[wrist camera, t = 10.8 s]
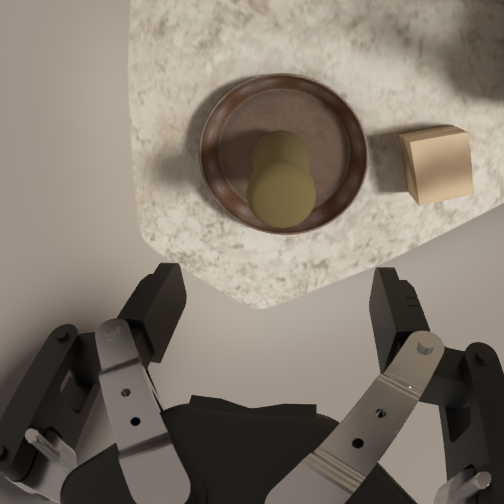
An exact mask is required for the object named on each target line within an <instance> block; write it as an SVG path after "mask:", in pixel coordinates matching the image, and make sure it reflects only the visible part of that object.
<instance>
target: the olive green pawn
mask: <svg viewBox="0 0 504 504" xmlns="http://www.w3.org/2000/svg"><path fill="white" fill-rule="evenodd" d="M310 165H311V153H310V149H309V147H308V145H307V144H306V142H305V140H303V139H302V138H301V137H300V136H299V135H297V134H295V133H293V132H290V131H285V130H277V131H272V132H269V133H267V134H265V135H264V136H262V137H261V138H260V139H259V140H258V141H257V143H256V144H255V146H254V149H253V151H252V166H253V174H252V175H251V177H250V180H249V182H248V185H247V188H246V199H247V202H248V205H249V208H250V210H251V212H252V213H253V215H254V216H255V217H256V218H257V219H258V220H259V221H261V222H262V223H263V224H266V225H268V226H271V227H276V228H287V227H292V226H295V225H297V224H299V223H301V222H302V221H304V220H305V219H306V218H307V217H308V216H309V215H310V213H311V211H312V209H313V207H314V204H315V199H316V190H315V185H314V181H313V179H312V178H311V176H310V174H309V171H310Z"/></svg>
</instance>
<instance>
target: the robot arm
mask: <svg viewBox="0 0 504 504" xmlns="http://www.w3.org/2000/svg"><path fill="white" fill-rule="evenodd" d="M186 297H187V296H186V290H185V285H184V282H183V277H182V273H181V268H180V265H179V264H178V263H160V264H159V266H158V267H157V269H156V270H155V272H154V274H149V275H147V276H146V277H145V278H144V279H142V280H141V281H140V283H139V284H138V286H137V287H136V289H135V291H134V292H133V294H132V295H131V297H130V298H129V299H128V301H127V303H126V304H125V306H124V307H123V309H122V310H121V312H120V314H119V315H118V317H117V318H116V319H110V320H107V321H105V322H104V323H102V324H101V325H100V326H99V327H98V328H97V330H96V332H92V333H84V334H80V333H79V332H78V330H77V328H76V327H75V326H74V325H71V324H65V325H62V326H59V327H57V328H56V329H55V330H54V331H53V332H52V333H51V334H50V335H49V337H48V339H47V340H46V342H45V343H44V345H43V346H42V348H41V350H40V351H39V353H38V354H37V356H36V358H35V359H34V361H33V363H32V364H31V366H30V367H29V369H28V371H27V373H26V374H25V376H24V378H23V379H22V381H21V383H20V385H19V386H18V388H17V390H16V392H15V393H14V395H13V397H12V399H11V401H10V403H9V405H8V406H7V408H6V410H5V412H4V414H3V416H2V418H1V420H0V474H2V475H3V476H5V477H6V478H7V479H8V480H9V481H11V482H12V483H14V484H15V485H17V486H18V487H20V488H22V489H23V490H25V491H27V492H29V493H32V494H33V495H35V496H37V497H38V498H40V499H42V500H53V501H55V502H57V503H59V504H417V503H416V502H415V501H414V500H413V499H412V498H411V497H410V495H409V494H408V493H407V492H406V491H405V490H404V489H403V488H402V487H401V486H400V485H399V484H398V483H397V482H396V481H395V480H394V479H393V478H392V477H391V476H390V475H389V474H388V472H386V470H385V469H383V467H382V466H381V465H380V464H379V463H378V461H379V460H380V458H381V457H382V456H383V454H384V453H385V452H386V450H387V449H388V447H389V446H390V444H391V443H392V441H393V440H394V439H395V437H396V436H397V434H398V432H399V431H400V430H401V428H402V427H403V425H404V423H405V422H406V420H407V419H408V417H409V415H410V414H411V412H412V410H413V409H414V407H415V406H416V404H417V402H418V401H420V402H424V403H429V404H435V405H438V406H439V412H440V418H441V425H442V433H443V441H444V450H445V460H446V471H447V482H446V483H445V484H444V485H442V486H441V487H440V488H439V490H438V491H437V493H436V496H435V500H434V504H504V373H503V370H502V367H501V364H500V361H499V359H498V356H497V354H496V352H495V351H494V349H493V348H491V347H490V346H489V345H487V344H485V343H480V342H476V343H472V344H470V345H469V346H468V347H467V349H466V350H465V351H460V350H455V349H451V348H447V347H445V346H444V344H443V342H442V340H441V339H440V338H439V337H438V336H437V335H436V334H434V333H431V332H430V329H429V326H428V323H427V321H426V318H425V315H424V312H423V310H422V307H421V306H420V305H421V304H420V302H419V300H418V298H417V294H416V292H415V289H414V287H412V285H411V284H410V283H409V282H408V281H407V280H399V278H398V275H397V272H396V270H395V268H389V267H387V268H386V267H383V268H382V267H381V268H380V267H377V268H376V269H375V273H374V278H373V284H372V290H371V295H370V301H369V310H370V316H371V321H372V326H373V331H374V337H375V343H376V348H377V354H378V360H379V366H380V374H379V375H378V376H377V378H376V379H375V380H374V382H373V383H372V384H371V386H370V387H369V388H368V390H367V391H366V392H365V393H364V395H363V396H362V397H361V399H360V400H359V401H358V402H357V403H356V405H355V406H354V407H353V409H351V411H350V412H349V413H348V414H347V415H346V417H345V418H344V419H343V420H342V421H341V423H339V422H338V421H336V420H334V419H332V418H330V417H328V416H325V415H321V414H318V413H316V404H280V405H274V406H267V407H260V408H247V407H244V406H241V405H238V404H235V403H232V402H229V401H226V400H223V399H220V398H211V397H202V396H195V395H192V396H191V399H190V402H189V403H188V404H181V405H177V406H174V407H171V408H168V409H166V410H165V408H164V406H163V403H162V401H161V399H160V396H159V394H158V392H157V389H156V387H155V384H154V382H153V379H152V377H151V374H150V372H149V370H148V366H149V363H150V362H155V363H161V360H162V358H163V356H164V353H165V351H166V349H167V346H168V344H169V342H170V340H171V337H172V335H173V333H174V330H175V328H176V326H177V323H178V321H179V319H180V317H181V314H182V312H183V310H184V308H185V305H186ZM67 372H68V373H69V375H70V377H69V379H68V381H67V383H66V385H65V387H64V389H63V391H62V393H61V392H60V387H61V384H62V382H63V380H64V378H65V376H66V374H67ZM100 387H101V389H102V393H103V397H104V401H105V405H106V408H107V412H108V416H109V420H110V423H111V427H112V430H113V434H114V437H115V440H116V443H114V444H113V445H111V446H110V447H108V448H107V449H105V450H103V451H102V452H100V453H99V454H97V455H96V456H94V457H92V458H91V459H89V460H87V461H86V462H84V463H83V464H81V465H79V466H77V465H76V462H77V459H76V454H75V452H74V450H75V447H76V444H77V442H78V439H79V437H80V434H81V432H82V429H83V427H84V424H85V422H86V420H87V417H88V415H89V412H90V410H91V408H92V405H93V403H94V400H95V398H96V396H97V394H98V392H99V389H100Z"/></svg>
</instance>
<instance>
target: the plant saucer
mask: <svg viewBox="0 0 504 504" xmlns="http://www.w3.org/2000/svg"><path fill="white" fill-rule="evenodd" d="M277 130H285V131H290V132H293V133H295V134H297V135H299V136H300V137H301V138H302V139H303V140H305V142H306V144H307V145H308V147H309V149H310V153H311V165H310V171H309V174H310V176H311V178H312V179H313V181H314V185H315V190H316V199H315V204H314V207H313V209H312V211H311V213H310V215H309V216H308V217H307V218H306V219H305V220H304V221H302V222H301V223H299V224H297V225H295V226H292V227H287V228H276V227H271V226H268V225H266V224H263V223H262V222H261V221H259V220H258V219H257V218H256V217H255V216H254V215H253V213H252V212H251V210H250V208H249V205H248V202H247V199H246V188H247V185H248V182H249V180H250V177H251V175H252V174H253V166H252V151H253V149H254V146H255V144H256V143H257V141H258V140H259V139H260V138H261V137H262V136H264V135H265V134H267V133H269V132H272V131H277ZM199 161H200V168H201V172H202V176H203V178H204V181H205V183H206V186H207V188H208V190H209V192H210V193H211V195H212V196H213V198H214V199H215V201H216V202H217V203H218V204H219V205H220V206H221V208H222V209H223V210H224V211H226V212H227V213H228V214H229V215H230V216H232V217H233V218H234V219H236V220H237V221H239V222H241V223H242V224H244V225H246V226H248V227H250V228H253V229H256V230H259V231H262V232H266V233H271V234H279V235H293V234H300V233H305V232H310V231H313V230H316V229H319V228H321V227H323V226H325V225H327V224H329V223H331V222H332V221H334V220H335V219H337V218H338V217H339V216H340V215H342V214H343V213H344V212H345V211H346V210H347V209H348V208H349V207H350V205H351V204H352V203H353V202H354V200H355V199H356V197H357V195H358V194H359V192H360V190H361V188H362V186H363V183H364V180H365V177H366V173H367V168H368V145H367V139H366V135H365V132H364V129H363V127H362V124H361V122H360V120H359V118H358V117H357V115H356V113H355V112H354V110H353V109H352V107H351V106H350V105H349V104H348V103H347V102H346V100H345V99H344V98H343V97H341V96H340V95H339V94H338V93H337V92H335V91H334V90H332V89H331V88H330V87H328V86H326V85H325V84H323V83H321V82H319V81H317V80H314V79H311V78H309V77H305V76H301V75H296V74H288V73H277V74H268V75H262V76H259V77H255V78H252V79H250V80H247V81H245V82H243V83H241V84H239V85H237V86H236V87H234V88H233V89H231V90H230V91H229V92H228V93H226V94H225V95H224V96H223V97H222V98H221V99H220V100H219V101H218V102H217V104H216V105H215V106H214V108H213V109H212V110H211V112H210V114H209V116H208V117H207V119H206V122H205V124H204V126H203V129H202V133H201V137H200V143H199Z"/></svg>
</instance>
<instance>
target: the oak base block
mask: <svg viewBox="0 0 504 504" xmlns="http://www.w3.org/2000/svg"><path fill="white" fill-rule="evenodd" d="M399 139H400V144H401V150H402V155H403V160H404V166H405V172H406V179H407V185H408V192H409V193H410V195H411V196H412V197H413V198H414V200H415V201H416V202H417V204H418V205H419V206H421V205H425V204H430V203H434V202H439V201H443V200H448V199H452V198H457V197H461V196H466V195H470V194H473V178H472V164H471V153H470V144H469V136H468V132H467V131H464V130H462V129H460V128H458V127H455V126H453V125H449V126H443V127H437V128H431V129H425V130H420V131H414V132H409V133H404V134H399Z"/></svg>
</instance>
